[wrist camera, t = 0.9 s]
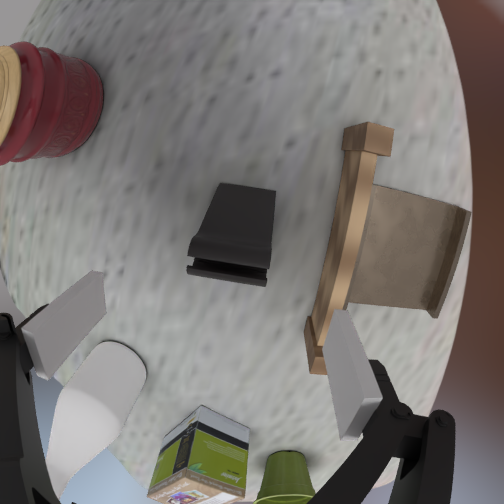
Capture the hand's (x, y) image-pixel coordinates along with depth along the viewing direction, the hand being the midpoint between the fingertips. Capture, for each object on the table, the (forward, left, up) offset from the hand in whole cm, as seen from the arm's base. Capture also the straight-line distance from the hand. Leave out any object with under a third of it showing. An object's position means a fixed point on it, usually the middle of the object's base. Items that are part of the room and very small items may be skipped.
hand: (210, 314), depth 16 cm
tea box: (+38, -3, -18) cm, 42 cm away
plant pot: (+44, +13, -18) cm, 49 cm away
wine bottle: (+24, -17, -18) cm, 34 cm away
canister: (-13, -25, -18) cm, 33 cm away
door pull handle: (0, +10, -18) cm, 21 cm away
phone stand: (0, 0, -18) cm, 18 cm away
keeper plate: (0, +19, -18) cm, 26 cm away
